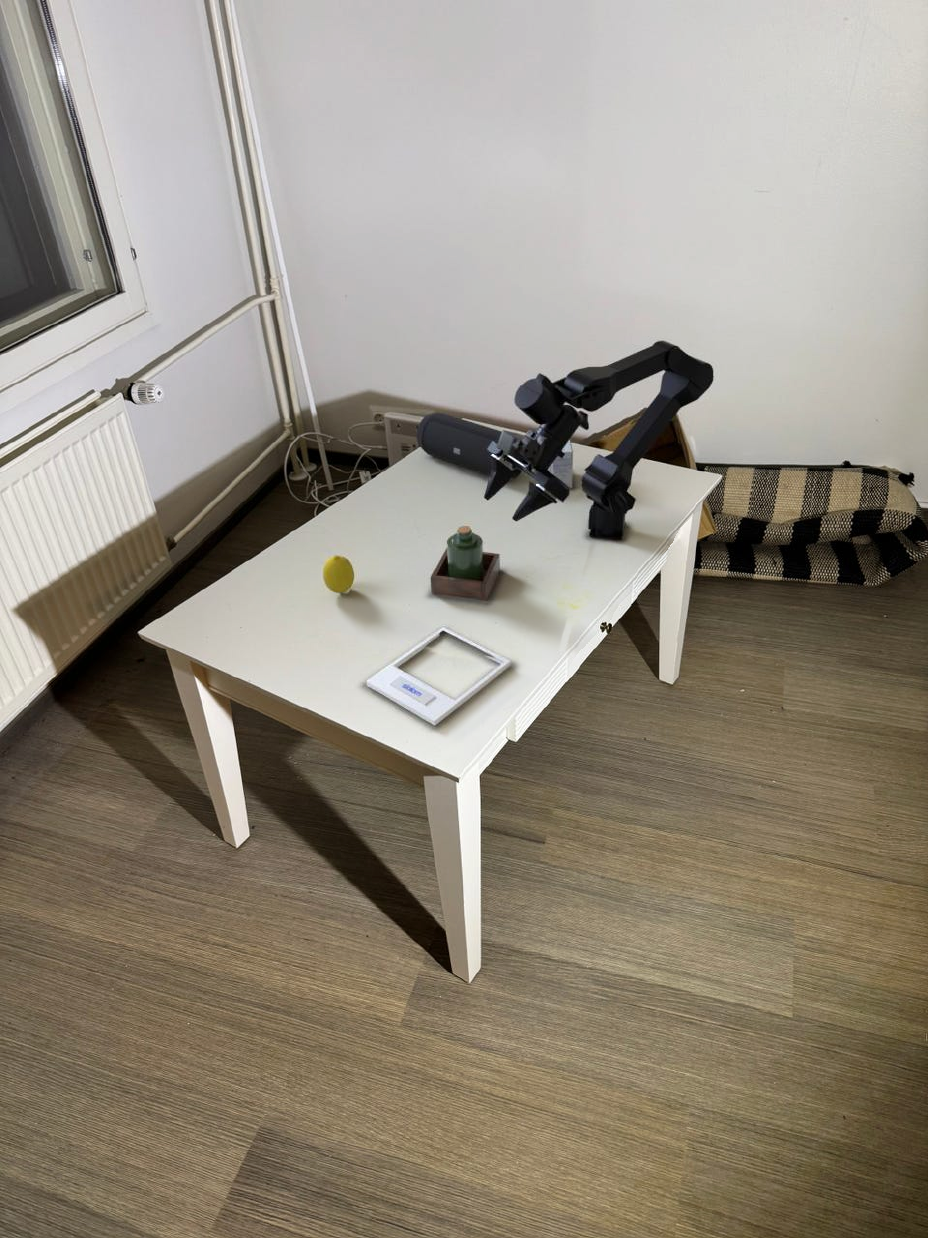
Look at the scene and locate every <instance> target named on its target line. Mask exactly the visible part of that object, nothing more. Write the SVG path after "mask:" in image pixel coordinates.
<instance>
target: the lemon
mask: <svg viewBox="0 0 928 1238" xmlns="http://www.w3.org/2000/svg"><path fill="white" fill-rule="evenodd" d="M322 579H323V583H324V585H325V586H326V588H327V589H328V590H330V591H331V592H333V593H337V594H343V593H345V592H348V591H349V590H350V589H351V588H352V587H353V585H354V580H355V571H354V567H353V565H352V563H351V562H350V560H349V559H348V558H347V557H345V556H344V555H343V556H342V555H333V556H331V557H329V558H328V559H327V560H326V561H325V562H324V565H323V568H322Z"/></svg>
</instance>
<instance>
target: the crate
mask: <svg viewBox="0 0 928 1238" xmlns="http://www.w3.org/2000/svg"><path fill="white" fill-rule="evenodd" d="M500 557H501V554H500V553H496V552H495V553H494V552H488V551H483V572H484V580H483V582H482V581H476V580H468V579H460V578H452V577H449V575H448V556H447V547H446V548H445V550H444V552H443V553H442V555H441V557H440V559H439V561H438V563H437V564H436V566H435V568H434V569H433V572H432V574H431V575H430V589H431V594H432V595H439V596H440V595H441V596H448V597H455V598H461V599H462V598H463V599H470V600H476V601H477V600H478V601H487V600H488V598H489V595H490V594H491V592H492V589H493V587H494V585H495V582H496V580H497V578H498V575H499V573H500V571H501V560H500V559H501V558H500Z"/></svg>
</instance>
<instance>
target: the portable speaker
mask: <svg viewBox="0 0 928 1238" xmlns="http://www.w3.org/2000/svg"><path fill="white" fill-rule="evenodd" d="M416 429H417V430H416V441H417V444H418V446H419V447H420V449H421V450H423V452H425V453H426V454H427V455H429V456H432V457H435V458H436V459H437V458H438V459H441V460H444V461H446V462H450V463H452V464H455V465H458V466H461V467H463V468H466V469H470V470H472V471H475V472H478V473H481V474H484V475H487V476H490V475H491V470H492V464H491V459H490V458H489V454H490V455H493V454H492V453H491V452H489V451H488V450H487V448H488V447H489V446H490V444H491V443H492V441H495V440H498V439H500V436H501V433H502V431H503V430H499V429H495V428H492V427H488V426H485V425H483V424H479V423H476V422H473V421H470V420H466V419H463V418H460V417H457V416H453V415H450V414H446V413H444V412H435V413H430V414H427V415H425V416H424V417H423V418H422V419H421V420H420V422H419V424H418V426H417V428H416ZM524 465H525V466H526V464H524ZM511 470H512V471H513V472H514V473H516V475H515V476H514V477H513V478H512V479H515V478H518V476H520V475H521V474H522V473H523V472H522V471H521V470H519V469H516V470H514V469H512V468H511ZM512 479H511V480H512Z"/></svg>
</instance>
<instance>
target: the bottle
mask: <svg viewBox="0 0 928 1238" xmlns="http://www.w3.org/2000/svg"><path fill="white" fill-rule="evenodd" d="M446 548H447V556H448V575H449V577H452V578H460V579H468V580H476V581H482V582H483V580H484V572H483V552H484V541H483V538H482V537H481V536H480V535H478V534H477V533H474V532H472V529H471V527H470V526H468V525H462V526H459V527H458V528H457V530H456V532H455V533H454V534H452V535H450V536H449V537H448V538H447V540H446Z"/></svg>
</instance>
